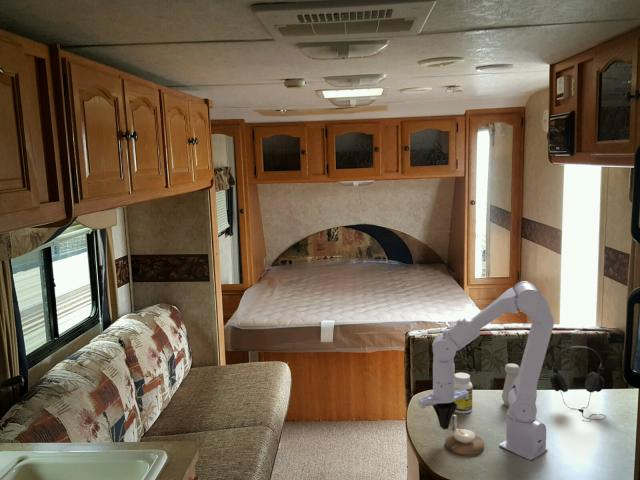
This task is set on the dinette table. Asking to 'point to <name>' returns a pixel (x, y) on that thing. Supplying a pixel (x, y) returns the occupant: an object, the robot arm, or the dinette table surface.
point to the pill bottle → (463, 384)
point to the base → (464, 446)
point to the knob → (461, 432)
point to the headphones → (591, 383)
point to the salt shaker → (509, 380)
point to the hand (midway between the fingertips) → (444, 427)
